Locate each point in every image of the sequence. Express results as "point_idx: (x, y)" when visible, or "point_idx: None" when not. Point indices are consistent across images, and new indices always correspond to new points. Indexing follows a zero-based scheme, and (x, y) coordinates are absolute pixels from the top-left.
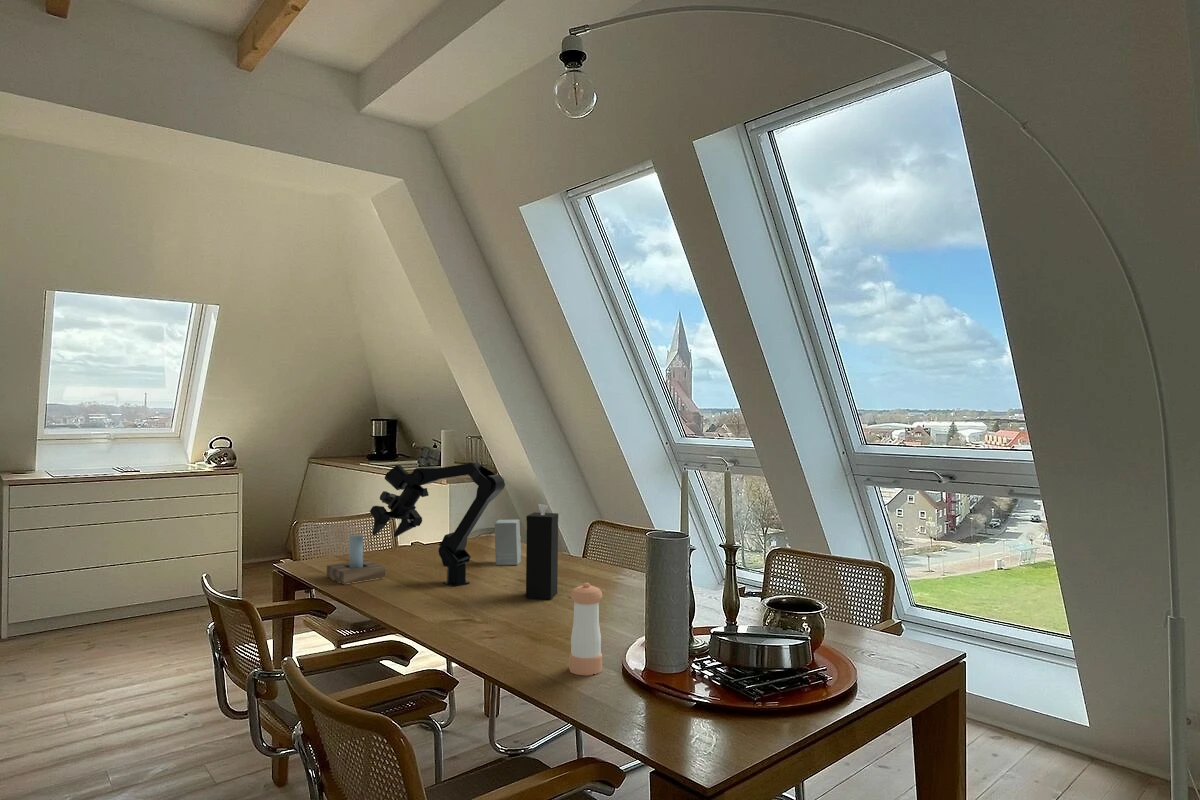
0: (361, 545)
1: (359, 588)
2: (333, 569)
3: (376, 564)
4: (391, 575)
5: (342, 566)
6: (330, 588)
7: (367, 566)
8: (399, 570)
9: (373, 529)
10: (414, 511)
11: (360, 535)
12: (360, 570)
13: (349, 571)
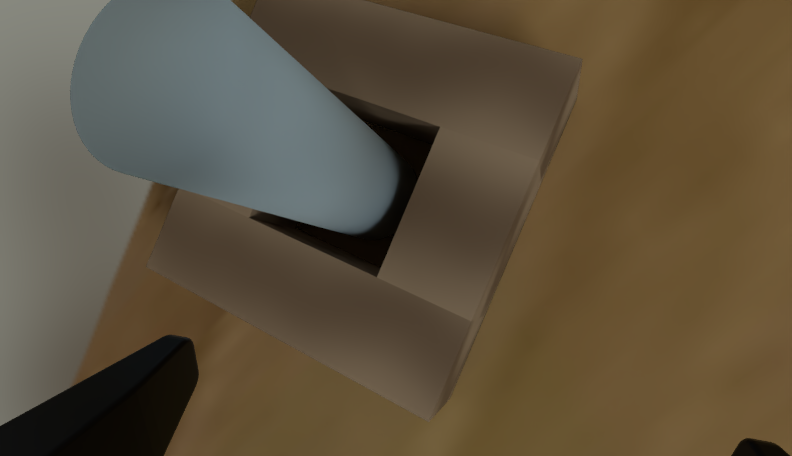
0: (234, 200)
1: (185, 412)
2: None
3: (467, 281)
4: (573, 363)
5: None
6: (129, 257)
7: (389, 251)
8: (778, 298)
9: (70, 406)
10: None
11: (195, 101)
12: (243, 319)
13: (184, 274)
